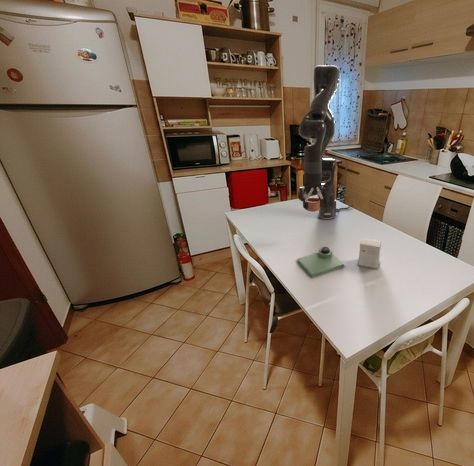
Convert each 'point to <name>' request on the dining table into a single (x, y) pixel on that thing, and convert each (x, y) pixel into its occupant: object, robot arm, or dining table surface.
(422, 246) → the dining table surface
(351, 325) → the dining table surface
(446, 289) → the dining table surface
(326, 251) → the tare button
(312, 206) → the bowl
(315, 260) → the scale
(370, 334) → the dining table surface
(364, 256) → the small box
